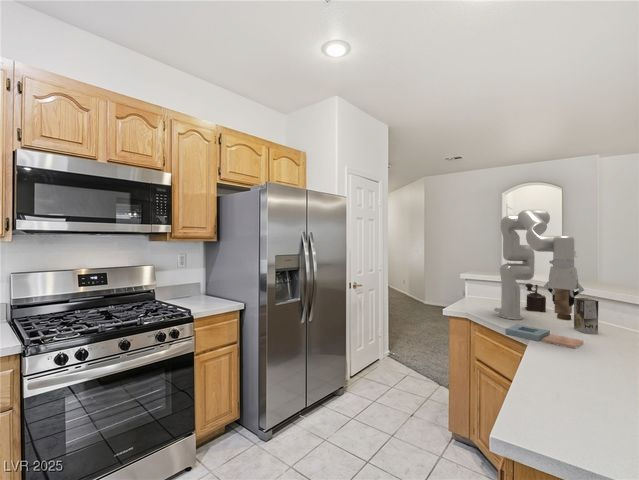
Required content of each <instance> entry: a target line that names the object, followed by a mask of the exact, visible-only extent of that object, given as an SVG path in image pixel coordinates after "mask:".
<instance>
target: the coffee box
mask: <svg viewBox="0 0 639 480" xmlns="http://www.w3.org/2000/svg"><path fill="white" fill-rule="evenodd" d="M599 302H600V301H599V300H595V299H592V298H588V297H574V304H573V329H574V330H576V331H578V332H581V333H583V334H593V335H598V334H599Z"/></svg>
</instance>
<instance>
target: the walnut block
mask: <svg viewBox="0 0 639 480" xmlns="http://www.w3.org/2000/svg"><path fill="white" fill-rule="evenodd" d="M569 297H570V293H569V290H564V289H555V304H554V313H555V314H558V313H559V314H566V315H569V314H570V315H571V314H572V313H573V312H572V311H573V306H569Z"/></svg>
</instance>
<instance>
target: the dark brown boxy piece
mask: <svg viewBox="0 0 639 480" xmlns="http://www.w3.org/2000/svg"><path fill="white" fill-rule="evenodd" d="M538 286H539V285H538V284H535V287H534V285H533V284H532V283H526V284H525V288H526V291H527V292H529V293H527V294H526V303H525V305H526V306H525V307H524V308H525V310H526V311H530V312H537V313H546V312H547V311H546V310H547V309H546V307H547V301H546V300H547V297H546V295H543V294H541V293H539V292H538V289H539V288H538ZM533 287H534V289H535V290H533Z"/></svg>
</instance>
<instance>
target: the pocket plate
mask: <svg viewBox="0 0 639 480" xmlns="http://www.w3.org/2000/svg"><path fill="white" fill-rule="evenodd" d="M550 331H551V330H550V329H546V328H545V329H543V328H540V327H535V326H529V325H523V324H518V323H516V324H514V325H512V326H508V327H507V328H505V335H509V336H512V337H513V336H514V337H518V338H523V339H525V340H527V339H528V340H531V341H535V340H536V342H541V341H542V339H543V338H545V337H547V336H549V335H551V333H550Z"/></svg>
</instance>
